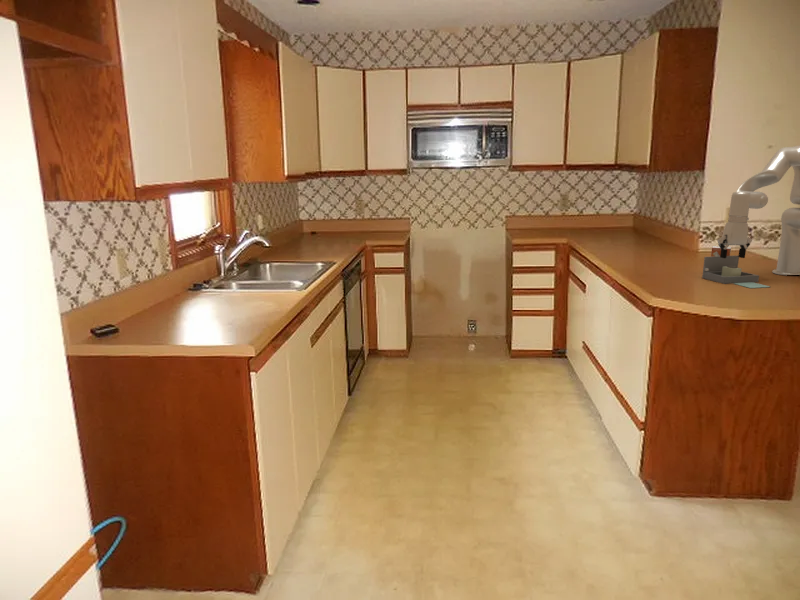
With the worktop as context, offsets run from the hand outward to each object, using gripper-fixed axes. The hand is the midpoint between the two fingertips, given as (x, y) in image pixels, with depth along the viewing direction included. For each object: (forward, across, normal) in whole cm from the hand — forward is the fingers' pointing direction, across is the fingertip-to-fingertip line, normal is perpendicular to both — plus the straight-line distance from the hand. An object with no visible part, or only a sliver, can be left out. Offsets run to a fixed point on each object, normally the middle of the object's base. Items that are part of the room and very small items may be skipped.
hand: (732, 257), depth 271 cm
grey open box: (+10, -1, 0) cm, 10 cm away
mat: (+10, -1, +12) cm, 16 cm away
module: (+10, -1, 0) cm, 11 cm away
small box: (+10, -7, -15) cm, 20 cm away
